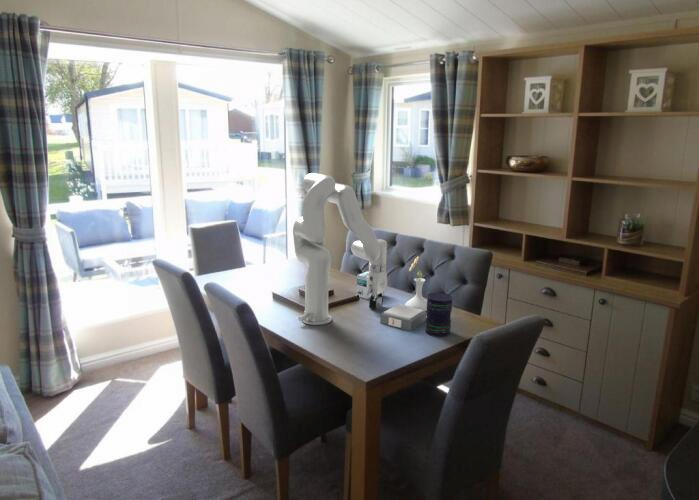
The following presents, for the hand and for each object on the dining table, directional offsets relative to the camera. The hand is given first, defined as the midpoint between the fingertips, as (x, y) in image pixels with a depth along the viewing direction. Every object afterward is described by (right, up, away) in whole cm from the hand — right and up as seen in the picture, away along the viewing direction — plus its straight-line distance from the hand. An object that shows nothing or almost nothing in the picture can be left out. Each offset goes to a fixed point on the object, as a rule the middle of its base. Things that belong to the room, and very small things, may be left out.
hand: (375, 306), depth 235 cm
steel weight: (0, -1, 0) cm, 1 cm away
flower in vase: (+18, -2, -1) cm, 18 cm away
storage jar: (+23, -8, -26) cm, 36 cm away
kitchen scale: (+11, -5, -16) cm, 20 cm away
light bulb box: (-3, +3, +17) cm, 18 cm away
